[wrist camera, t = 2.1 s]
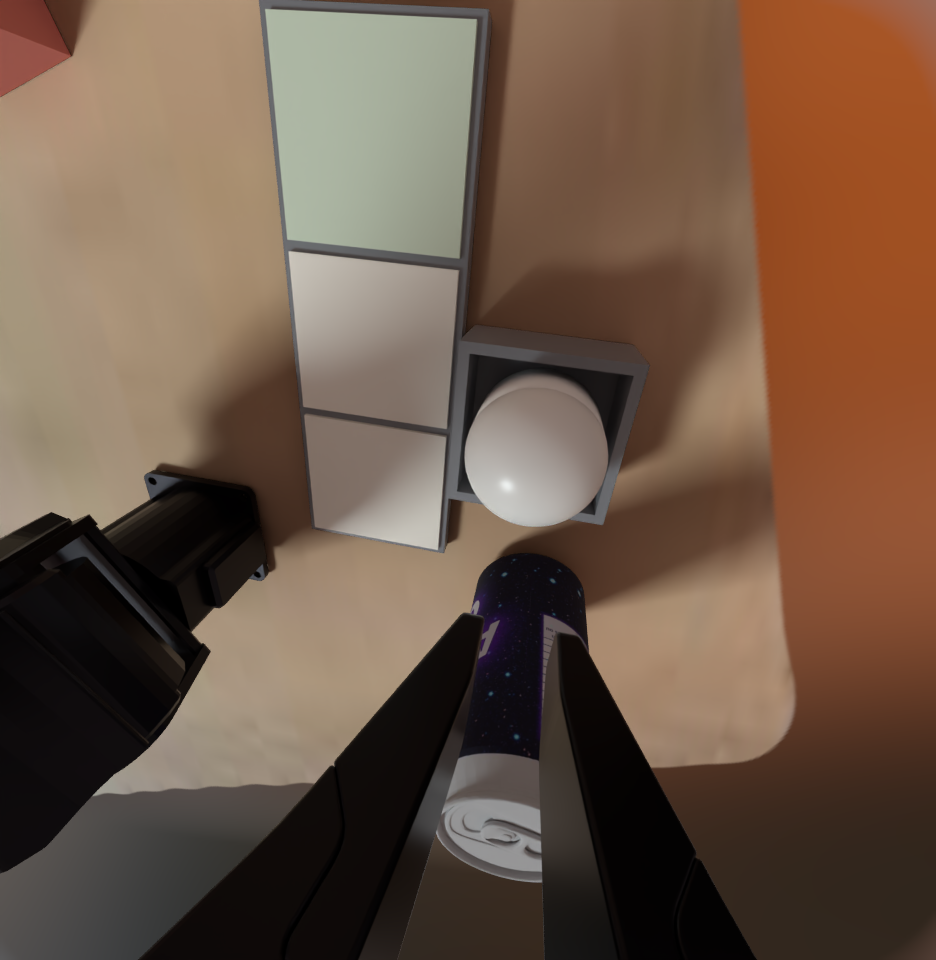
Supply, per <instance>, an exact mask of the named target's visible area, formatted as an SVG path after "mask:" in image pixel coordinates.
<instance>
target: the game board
mask: <svg viewBox="0 0 936 960" xmlns="http://www.w3.org/2000/svg"><path fill="white" fill-rule="evenodd" d="M259 6H260V16H261V26H262V36H263V46H264V56H265V66H266V76H267V86H268V96H269V106H270V115H271V125H272V135H273V145H274V155H275V165H276V175H277V185H278V195H279V205H280V215H281V225H282V235H283V245H284V255H285V265H286V275H287V285H288V295H289V305H290V315H291V325H292V335H293V345H294V355H295V365H296V375H297V384H298V394H299V404H300V414H301V424H302V434H303V444H304V454H305V464H306V474H307V484H308V494H309V504H310V514H311V524H312V529H317V530H323V531H328V532H333V533H338V534H344V535H349V536H354V537H360V538H365V539H370V540H376V541H381V542H386V543H392V544H397V545H402V546H407V547H413V548H418V549H423V550H429V551H434V552H439V553H444V552H445V549H446V546H447V541H448V530H449V518H450V507H451V499H449V498H447V488H448V476H449V463H450V451H451V438H452V426H453V413H454V401H455V388H456V376H457V363H458V351H459V340H460V339H461V338H462V337H463V336H464V335H465V332H466V320H467V308H468V297H469V285H470V273H471V262H472V250H473V238H474V227H475V215H476V203H477V192H478V180H479V169H480V157H481V145H482V134H483V122H484V110H485V99H486V87H487V75H488V64H489V52H490V40H491V29H492V19H491V15H490V12H489V9H479V8H458V7H436V6H414V5H392V4H371V3H349V2H327V1H305V0H259Z"/></svg>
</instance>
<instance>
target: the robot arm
mask: <svg viewBox="0 0 936 960" xmlns="http://www.w3.org/2000/svg"><path fill="white" fill-rule="evenodd" d="M144 479H145V483H146V486H147V489H148V493H149V496H150V500H148V501H147V502H145V503H144V504H142V505H140V506H139V507H137V508H136V509H134V510H132V511H131V512H129V513H127V514H126V515H124V516H123V517H121V518H119V519H118V520H116V521H115V522H113V523H111V524H110V525H108V526H107V527H105V528H103V529H102V530H99V528H98V527H97V526H96V525H97V523H96V521H95V520H94V519H93V518H92V517H91V516H90V515H87V516H84V517H82V518H79V519H77V520H75V521H71V520H70V519H69V518H64V517H62V516H59V515H57V514H55V513H52V512H51V513H49V514H46V515H44V516H42V517H40V518H38V519H36V520H34V521H32V522H31V523H29V524H27V525H25V526H23V527H21V528H19V529H17V530H15V531H13V532H12V533H10V534H8V535H6V536H4V537H2V538H0V873H2V872H5V871H8V870H9V869H11V868H13V867H15V866H16V865H18V864H19V863H21V862H23V861H24V860H26V859H28V858H29V857H31V856H32V855H34V854H35V853H37V852H39V851H40V850H42V849H43V848H45V847H46V846H47V845H48V844H49V843H50V842H51V841H52V840H53V838H54V837H55V836H56V835H57V834H58V833H59V832H60V831H61V830H62V829H63V827H64V826H65V825H66V824H67V823H68V822H69V821H70V820H71V818H72V817H73V816H74V815H75V814H76V813H77V812H78V811H79V809H80V808H81V807H82V806H83V805H84V804H85V803H86V802H87V801H88V800H89V799H90V798H91V796H92V795H93V794H94V793H95V792H96V791H97V790H98V789H99V788H100V787H101V786H102V785H103V784H105V783H106V782H107V781H108V780H109V779H110V778H111V777H112V776H113V775H114V774H116V773H117V772H119V771H120V770H122V769H123V768H125V767H126V766H128V765H129V764H130V763H132V762H133V761H134V760H135V759H137V758H138V757H139V756H140V755H141V754H142V753H143V752H145V751H146V750H147V749H148V748H149V747H150V746H151V745H152V744H153V743H154V742H155V741H156V740H157V739H158V737H159V736H160V735H161V734H162V733H163V731H164V730H165V729H166V728H167V726H168V725H169V723H170V722H171V720H172V719H173V717H174V715H175V713H176V712H177V710H178V708H179V706H180V705H181V703H182V701H183V699H184V698H185V696H186V694H187V692H188V691H189V689H190V687H191V685H192V684H193V682H194V680H195V678H196V677H197V675H198V673H199V671H200V670H201V668H202V666H203V664H204V663H205V661H206V659H207V657H208V656H209V654H210V652H211V651H210V650H209V649H208V647H207V646H206V645H205V644H204V643H202V644H201V643H200V642H199V641H198V639H197V638H196V637H195V636H194V635H193V634H192V633H191V632H192V631H193V630H194V629H195V627H196V626H197V625H198V624H199V623H200V622H201V621H202V620H203V619H204V618H205V617H206V616H207V615H208V614H209V613H210V612H211V611H212V610H213V608H221V607H222V606H224V605H225V604H226V603H227V602H228V601H229V600H230V599H231V598H232V596H233V595H234V594H235V593H236V592H237V591H238V590H239V589H240V588H241V587H242V586H243V585H244V583H245V582H246V581H247V580H248V579H253V580H257V581H262V580H264V579H265V577H266V576H267V575H268V566H267V560H266V553H265V547H264V541H263V535H262V529H261V525H260V519H259V513H258V507H257V501H256V496H255V493H254V491H253V490H252V489H250V488H249V487H246V486H241V485H235V484H230V483H224V482H219V481H213V480H207V479H202V478H196V477H191V476H185V475H180V474H174V473H169V472H163V471H158V470H153V471H151V472H149V473H147V474H145V476H144ZM243 494H244V495H245V496H246V497H247V498H246V497H245V496H244V495H243ZM483 627H484V617H483V616H480V615H475V614H470V613H463V614H461V615H460V616H459V617H458V619H457V620H456V621H455V622H454V623H453V624H452V625H451V627H450V628H449V629H448V630H447V631H446V632H445V634H444V635H443V636H442V637H441V638H440V639H439V641H438V642H437V643H436V644H435V645H434V646H433V648H432V649H431V650H430V651H429V652H428V653H427V654H426V656H425V657H424V658H423V659H422V660H421V661H420V663H419V664H418V665H417V666H416V667H415V668H414V670H413V671H412V672H411V673H410V674H409V675H408V677H407V678H406V679H405V680H404V681H403V682H402V683H401V685H400V686H399V687H398V688H397V689H396V690H395V692H394V693H393V694H392V695H391V696H390V697H389V699H388V700H387V701H386V702H385V703H384V704H383V705H382V707H381V708H380V709H379V710H378V711H377V712H376V714H375V715H374V716H373V717H372V718H371V719H370V721H369V722H368V723H367V724H366V725H365V726H364V728H363V729H362V730H361V731H360V732H359V733H358V734H357V736H356V737H355V738H354V739H353V740H352V741H351V743H350V744H349V745H348V746H347V747H346V748H345V750H344V751H343V752H342V753H341V754H340V755H339V757H338V758H337V759H336V760H335V762H334V765H335V767H334V766H330V767H329V768H328V769H327V770H326V771H325V772H324V774H323V775H322V776H321V777H320V778H319V779H318V781H317V782H316V783H315V784H314V785H313V786H312V788H311V789H310V790H309V791H308V792H307V793H306V794H305V795H304V797H302V799H301V800H300V801H299V802H298V803H297V804H296V805H295V806H294V807H293V808H292V809H291V811H290V812H289V813H288V814H287V815H286V816H285V817H284V818H283V819H282V821H281V822H280V823H279V824H278V825H277V826H276V827H275V828H274V829H273V830H272V831H271V832H270V833H269V834H268V835H267V836H266V837H265V838H264V839H263V840H262V841H261V842H260V843H259V844H258V845H257V846H256V847H255V848H254V849H253V850H252V851H251V852H250V853H249V854H248V855H247V856H246V857H245V858H244V859H243V860H242V861H241V862H240V863H239V864H238V865H237V866H235V867H234V868H233V869H232V870H231V871H230V872H229V873H228V874H227V875H226V876H225V877H224V878H223V879H222V880H221V881H220V882H219V883H218V884H217V885H216V886H215V887H214V888H212V889H211V890H210V891H209V892H208V893H207V894H206V895H205V896H204V897H203V898H202V899H201V900H200V901H199V902H198V903H197V904H196V905H195V906H194V907H193V908H192V909H191V910H189V912H187V913H186V914H185V915H184V916H183V917H182V918H181V919H180V920H179V921H178V922H177V923H176V924H175V925H174V926H173V927H172V928H171V929H170V930H169V931H168V932H167V933H165V934H164V935H163V936H162V937H161V938H160V939H159V940H158V941H157V942H156V943H155V944H154V945H153V946H152V947H151V948H150V949H149V950H148V951H147V952H146V953H145V954H144V955H142V956H141V957H140V958H139V959H138V960H397V959H398V956H399V953H400V949H401V946H402V943H403V939H404V936H405V933H406V929H407V926H408V922H409V920H410V916H411V913H412V910H413V906H414V903H415V900H416V896H417V893H418V890H419V886H420V883H421V880H422V876H423V873H424V870H425V866H426V864H427V860H428V856H429V854H430V850H431V847H432V844H433V840H434V837H435V834H436V831H437V827H438V824H439V821H440V817H441V814H442V811H443V807H444V804H445V801H446V797H447V794H448V791H449V788H450V784H451V781H452V778H453V774H454V771H455V768H456V764H457V761H458V758H459V754H460V751H461V747H462V743H463V739H464V734H465V729H466V724H467V719H468V713H469V708H470V702H471V697H472V691H473V686H474V680H475V675H476V669H477V664H478V658H479V653H480V647H481V640H482V634H483ZM539 791H540V825H541V858H542V890H543V891H542V892H543V926H544V959H545V960H757V959H756V957H755V956H754V954H753V953H752V951H751V949H750V947H749V946H748V944H747V942H746V940H745V938H744V937H743V935H742V933H741V931H740V929H739V928H738V926H737V924H736V922H735V921H734V919H733V917H732V915H731V914H730V912H729V910H728V908H727V906H726V905H725V903H724V901H723V900H722V898H721V896H720V894H719V892H718V891H717V889H716V887H715V885H714V883H713V881H712V879H711V877H710V876H709V874H708V872H707V870H706V868H705V866H704V865H703V863H702V861H701V860H700V859H699V858H695V857H696V850H695V848H694V847H693V845H692V843H691V841H690V839H689V837H688V836H687V834H686V832H685V830H684V828H683V826H682V824H681V822H680V821H679V819H678V817H677V815H676V813H675V811H674V810H673V808H672V806H671V804H670V802H669V800H668V798H667V797H666V795H665V793H664V791H663V789H662V787H661V786H660V784H659V782H658V780H657V778H656V776H655V775H654V773H653V771H652V769H651V767H650V765H649V763H648V762H647V760H646V758H645V756H644V754H643V752H642V750H641V749H640V747H639V745H638V743H637V741H636V739H635V738H634V736H633V734H632V732H631V730H630V728H629V727H628V725H627V723H626V721H625V719H624V717H623V715H622V714H621V712H620V710H619V708H618V706H617V704H616V703H615V701H614V699H613V697H612V695H611V693H610V691H609V690H608V688H607V686H606V684H605V682H604V680H603V679H602V677H601V675H600V673H599V671H598V669H597V668H596V666H595V664H594V662H593V660H592V658H591V656H590V655H589V653H588V651H587V649H586V647H585V645H584V644H583V642H582V640H581V638H580V637H579V636H577V635H573V634H568V633H563V632H557V633H556V634H555V636H554V640H553V644H552V647H551V651H550V655H549V658H548V662H547V667H546V676H545V688H544V700H543V713H542V725H541V737H540V752H539Z"/></svg>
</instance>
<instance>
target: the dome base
mask: <svg viewBox="0 0 936 960" xmlns="http://www.w3.org/2000/svg"><path fill="white" fill-rule="evenodd" d="M649 367H650V365H649V364H648V363H647V361H646V360H645V359H644V357H643V356H642V355H641V354H640V352H639V351H638V350H637V348H636V347H635V346H634V345H632V344H624V343H616V342H608V341H601V340H593V339H585V338H577V337H569V336H561V335H554V334H546V333H538V332H530V331H522V330H514V329H507V328H499V327H491V326H483V325H475V326H474V327H473V328H472V329H471V330H470V331H468V332H467V333H466V334H465V335H464V336H463V337H462V338H461V339H460V340H459V351H458V363H457V376H456V388H455V401H454V413H453V426H452V438H451V451H450V463H449V476H448V488H447V498H449V499H455V500H460V501H466V502H472V503H478V504H483V503H482V502H481V501H480V500H479V498H478V497H477V496H476V494H475V492H474V491H473V489H472V487H471V484H470V482H469V479H468V476H467V473H466V468H465V446H466V440H467V437H468V434H469V431H470V428H471V426H472V424H473V422H474V420H475V418H476V415H477V413H478V411H479V409H480V407H481V405H482V403H483V401H484V399H485V397H486V396H487V394H488V393H489V392H490V391H491V389H492V388H493V387H494V386H495V385H496V384H498V383H499V382H500V381H501V380H503V379H505V378H506V377H508V376H510V375H512V374H514V373H517V372H520V371H523V370H528V369H538V368H541V369H551V370H556V371H559V372H562V373H565V374H567V375H569V376H571V377H573V378H574V379H576V380H577V381H579V382H580V383H581V384H582V385H583V386H584V387H585V388H586V389H587V390H588V391H589V392H590V394H591V395H592V397H593V398H594V400H595V402H596V404H597V407H598V409H599V413H600V417H601V421H602V425H603V429H604V432H605V436H606V440H607V447H608V465H607V470H606V474H605V478H604V480H603V483H602V485H601V487H600V489H599V491H598V493H597V494H596V496H595V497H594V498H593V500H592V501H591V502H590V503H589V504H588V505H587V506H586V507H585V508H584V509H583V510H582V511H580V512H579V513H578V514H576V515H575V516H573V517H572V518H570V520H575V521H581V522H587V523H593V524H598V525H603V523H604V520H605V516H606V513H607V509H608V506H609V503H610V499H611V496H612V492H613V489H614V486H615V482H616V479H617V475H618V472H619V469H620V465H621V462H622V459H623V455H624V452H625V448H626V445H627V442H628V438H629V435H630V431H631V428H632V425H633V421H634V418H635V414H636V411H637V408H638V404H639V401H640V397H641V394H642V391H643V387H644V384H645V380H646V377H647V374H648V370H649ZM483 505H484V504H483Z"/></svg>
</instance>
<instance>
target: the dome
mask: <svg viewBox="0 0 936 960" xmlns="http://www.w3.org/2000/svg"><path fill="white" fill-rule="evenodd" d="M607 465H608V447H607V440H606V436H605V432H604V429H603V425H602V421H601V417H600V413H599V409H598V407H597V404H596V402H595V400H594V398H593V397H592V395H591V394H590V392H589V391H588V390H587V389H586V388H585V387H584V386H583V385H582V384H581V383H580V382H579V381H577V380H576V379H574V378H573V377H571V376H569V375H567V374H565V373H562V372H559V371H556V370H551V369H541V368H538V369H528V370H523V371H520V372H517V373H514V374H512V375H510V376H508V377H506V378H505V379H503V380H501V381H500V382H499V383H498V384H496V385H495V386H494V387H493V388H492V389H491V391H490V392H489V393H488V394H487V396H486V397H485V399H484V401H483V403H482V405H481V407H480V409H479V411H478V413H477V415H476V418H475V420H474V422H473V424H472V426H471V428H470V431H469V434H468V437H467V440H466V446H465V468H466V473H467V476H468V479H469V482H470V484H471V487H472V489H473V491H474V492H475V494H476V496H477V497H478V498H479V500H480V501H481V502H482V503H483V504H484V505H485V506H486V507H487V508H488V509H489V510H490V511H491V512H493V513H494V514H495V515H497V516H498V517H500V518H502V519H504V520H506V521H508V522H511V523H514V524H518V525H522V526H529V527H542V526H550V525H554V524H558V523H561V522H563V521H566V520H568V519H570V518H572V517H573V516H575V515H576V514H578V513H579V512H580V511H582V510H583V509H584V508H585V507H586V506H587V505H588V504H589V503H590V502H591V501H592V500H593V498H594V497H595V496H596V494H597V493H598V491H599V489H600V487H601V485H602V483H603V480H604V478H605V474H606V470H607Z"/></svg>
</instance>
